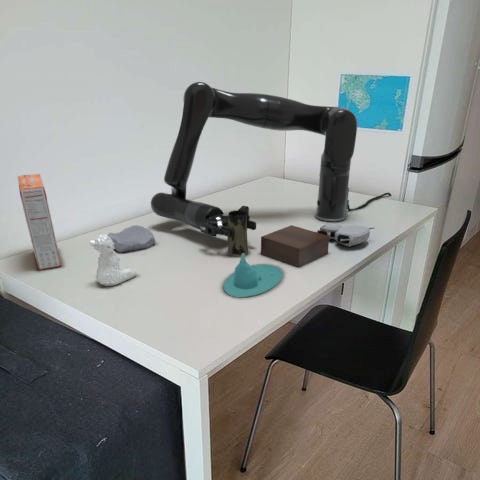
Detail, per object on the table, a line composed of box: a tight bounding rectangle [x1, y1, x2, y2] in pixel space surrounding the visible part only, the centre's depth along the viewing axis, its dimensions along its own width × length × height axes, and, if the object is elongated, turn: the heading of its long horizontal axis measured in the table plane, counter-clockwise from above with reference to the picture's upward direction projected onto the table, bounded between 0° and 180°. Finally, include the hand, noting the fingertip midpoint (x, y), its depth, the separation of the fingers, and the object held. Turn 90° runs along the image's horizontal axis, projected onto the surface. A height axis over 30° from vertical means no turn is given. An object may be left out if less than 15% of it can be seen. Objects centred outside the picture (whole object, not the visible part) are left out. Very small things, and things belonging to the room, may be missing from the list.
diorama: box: [223, 253, 283, 299], centre depth 115 cm, size 12×20×9 cm, turn 151°
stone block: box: [107, 224, 156, 253], centre depth 136 cm, size 12×5×10 cm
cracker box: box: [17, 173, 62, 271], centre depth 123 cm, size 14×6×21 cm, turn 23°
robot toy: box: [316, 222, 376, 248], centre depth 139 cm, size 12×4×15 cm
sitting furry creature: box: [88, 233, 138, 287], centre depth 114 cm, size 10×9×12 cm
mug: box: [227, 205, 250, 257], centre depth 130 cm, size 8×6×12 cm
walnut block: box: [260, 224, 330, 268], centre depth 130 cm, size 13×13×5 cm
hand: (244, 230), depth 129 cm, fingers closed on mug, 8 cm apart
